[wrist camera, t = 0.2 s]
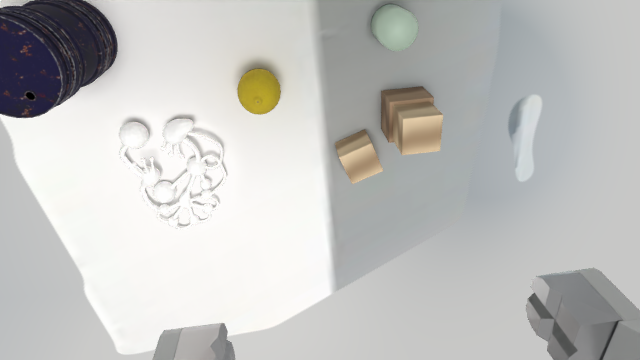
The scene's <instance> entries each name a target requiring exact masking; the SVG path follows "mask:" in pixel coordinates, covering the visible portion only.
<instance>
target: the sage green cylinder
mask: <svg viewBox="0 0 640 360" xmlns="http://www.w3.org/2000/svg"><path fill="white" fill-rule="evenodd" d="M371 29H372V33H373V35H374V36H375V38H376V39H377V40H379V41H380V42H381V43H382V44H383V45H384V46H385V47H386V48H388V49H389V50H392V51H401V50H404V49H406V48H408V47H409V46H410V45H411V44H412V43H413V42H414V40H415V39H416V36H417V33H418V22H417V20H416V18H415V16H414V15H413V14H412V13H411V12H409V11H407V10H405V9H403V8H401V7H399V6H397V5H394V4H388V5H384V6H382V7H381V8H379V9H378V10H377V11H376V12H375V14H374V16H373V18H372V22H371Z"/></svg>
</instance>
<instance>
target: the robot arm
mask: <svg viewBox="0 0 640 360" xmlns="http://www.w3.org/2000/svg"><path fill="white" fill-rule="evenodd" d="M531 288H532V290H533V291H534V294H532V295H531V296H530V297H529V298H528V300H527V305H526V311H527V316H528V320H529V322H530V324H531V326H532V328H533V330H534V331H535V332H536V334H537V335H538V336H539V337H541V338H543V339H544V340H546V341H548V346H547V351H548V352H549V354H550V355H551V357H552V358H553V360H640V310H639V309H637V308H636V306H635V305H634V304H633V303H632V302H630V300H629V299H628V298H626V297H625V295H624V294H623V293H622V292H620V290H619V289H618V288H616V286H615V285H614V284H613V283H612V282H611V281H609V279H607V278H606V276H605V275H604V274H603V273H602V272H600V271H599V270H597V269H595V268H589V269H582V270H576V271H567V272H561V273H554V274H549V275H542V276H536V277H535V278H534V279H533V280H532V284H531ZM227 332H228V331H227V329H226V326H225V324H224V323H219V324H210V325H202V326H193V327H185V328H178V329H171V330H164V331H163V333H162V334H161V336H160V338H159V341H158V344H157V347H156V351H155V354H154V357H153V360H235V354H234V349H233V346H232V343H231V342H230V341H228V340H227Z"/></svg>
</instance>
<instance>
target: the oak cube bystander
mask: <svg viewBox="0 0 640 360" xmlns="http://www.w3.org/2000/svg"><path fill="white" fill-rule="evenodd" d="M335 145H336V148H337V152H338V155H339V158H340V160H341V162H342V164H343V166H344V168H345V170H346V173H347V175H348V177H349V179H350V181H351V183H352V184H354V183H356V182H358V181H361V180H363V179H365V178H368V177H370V176H372V175H375V174H377V173H379V172H382V171H383V169H382V166H381V164H380V162H379V159H378V157H377V155H376V152H375V150H374V148H373V145H372V143H371V141H370V139H369V137H368V135H367V133H366V131H365V130H362V131H360V132H358V133H356V134H354V135H351V136H349V137H347V138H345V139H343V140H340V141H338V142H336V143H335Z"/></svg>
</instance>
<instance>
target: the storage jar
mask: <svg viewBox="0 0 640 360" xmlns="http://www.w3.org/2000/svg"><path fill="white" fill-rule="evenodd" d="M116 55H117V39H116V35H115V32H114V30H113V28H112V26H111V24H110V23H109V21H108V20H107V19H106V17H105V16H104V15H103V14H102V13H101V12H100V11H99V10H98V9H96V8H95V7H94V6H92V5H91V4H89V3H87V2H85V1H83V0H35V1H30V2H28V3H26V4H24V5H23V6H7V7H3V8H0V114H2V115H6V116H10V117H15V118H32V117H36V116H40V115H42V114H45V113H47V112H48V111H49V110H51V109H52V108H54V107H56V106H58V105H60V104H61V103H63V102H64V101H66V100H67V99H69V98H70V97H72V96H73V95H75V93H76V92H77V91H78V90H79V89H80V87H83V86H86V85H88V84H90V83H92V82H93V81H95V80H96V79H97V78H98V77H100V76H101V75H102V74H103V73H104V72H105V71H106V70H108V69H109V68H110V67H111V66H112V64H113V62H114V61H115V58H116Z"/></svg>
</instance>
